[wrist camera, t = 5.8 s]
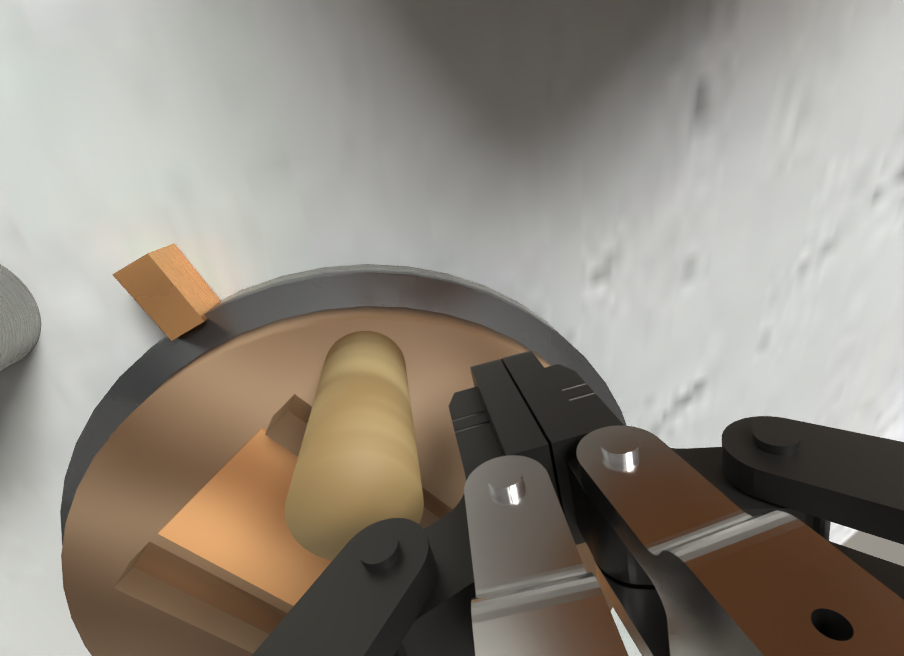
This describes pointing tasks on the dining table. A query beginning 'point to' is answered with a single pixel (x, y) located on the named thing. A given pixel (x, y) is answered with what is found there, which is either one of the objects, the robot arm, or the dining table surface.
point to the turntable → (267, 475)
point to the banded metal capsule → (16, 319)
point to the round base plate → (213, 321)
